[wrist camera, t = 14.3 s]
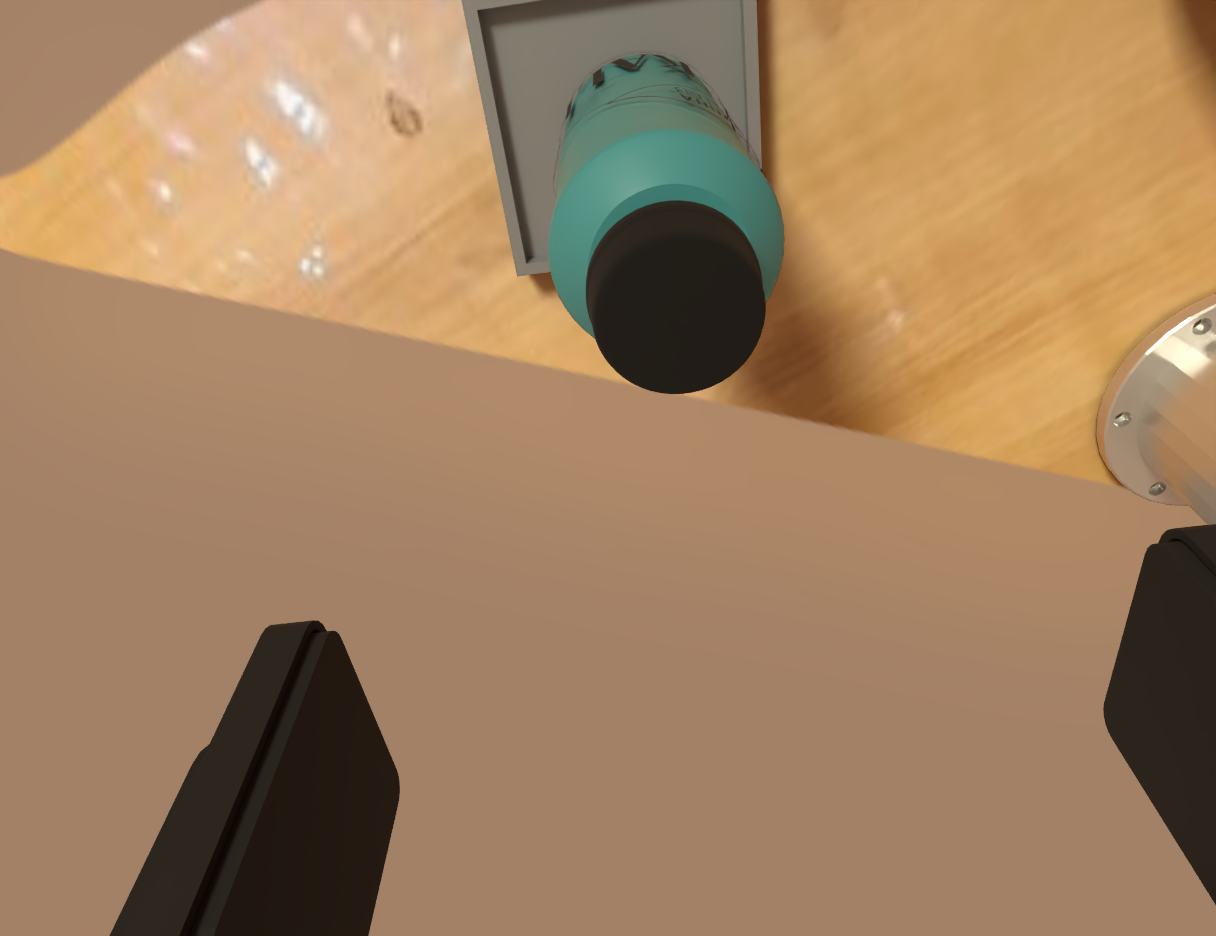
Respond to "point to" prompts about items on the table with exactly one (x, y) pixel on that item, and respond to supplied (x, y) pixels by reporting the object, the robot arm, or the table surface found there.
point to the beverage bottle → (662, 227)
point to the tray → (563, 56)
